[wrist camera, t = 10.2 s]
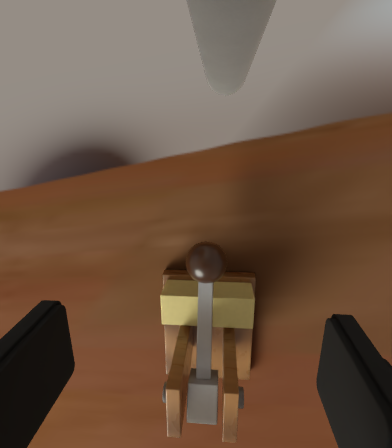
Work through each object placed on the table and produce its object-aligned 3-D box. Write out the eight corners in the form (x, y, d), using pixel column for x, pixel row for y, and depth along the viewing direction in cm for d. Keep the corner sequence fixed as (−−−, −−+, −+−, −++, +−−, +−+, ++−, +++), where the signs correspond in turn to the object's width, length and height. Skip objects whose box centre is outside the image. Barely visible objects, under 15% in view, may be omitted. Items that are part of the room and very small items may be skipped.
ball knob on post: (188, 240, 24) (183, 241, 21) (227, 241, 24) (228, 243, 20) (184, 399, 23) (178, 426, 20) (223, 402, 23) (224, 429, 20)
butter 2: (213, 281, 28) (212, 297, 25) (251, 282, 27) (255, 299, 24) (213, 308, 28) (212, 327, 26) (249, 310, 28) (253, 329, 25)
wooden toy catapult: (164, 269, 29) (133, 340, 19) (254, 272, 28) (273, 348, 18) (168, 366, 32) (143, 472, 22) (248, 371, 32) (261, 483, 21)
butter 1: (166, 279, 28) (160, 295, 25) (203, 280, 28) (201, 296, 25) (167, 306, 29) (161, 324, 26) (203, 307, 29) (201, 326, 26)
